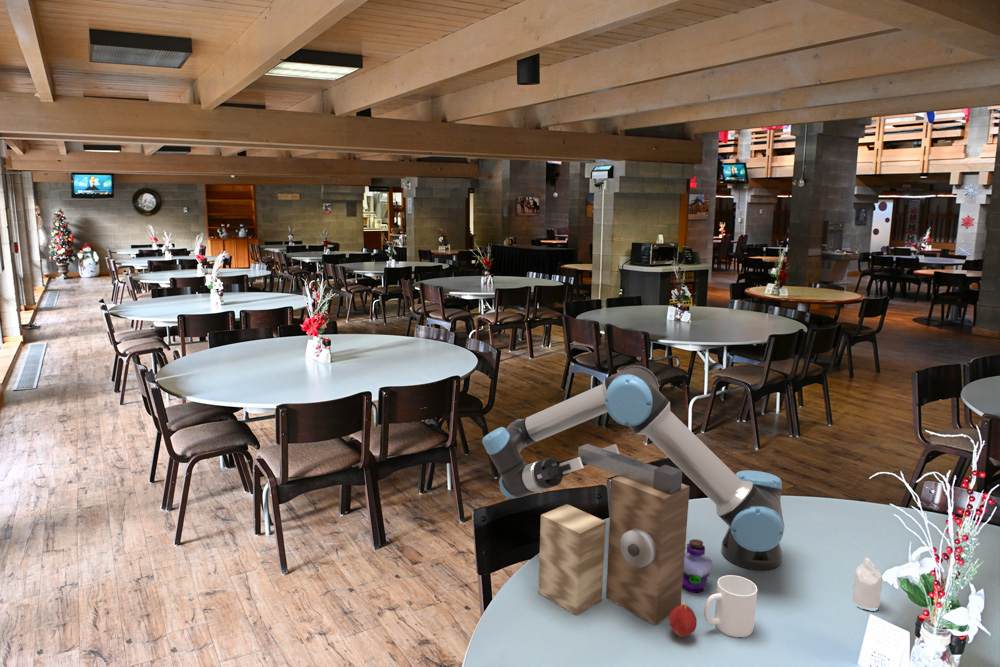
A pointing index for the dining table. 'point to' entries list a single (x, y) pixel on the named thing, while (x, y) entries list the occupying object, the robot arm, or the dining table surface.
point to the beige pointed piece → (867, 585)
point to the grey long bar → (632, 469)
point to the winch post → (646, 548)
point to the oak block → (571, 558)
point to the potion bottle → (696, 567)
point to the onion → (682, 620)
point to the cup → (733, 606)
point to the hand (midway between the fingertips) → (599, 455)
